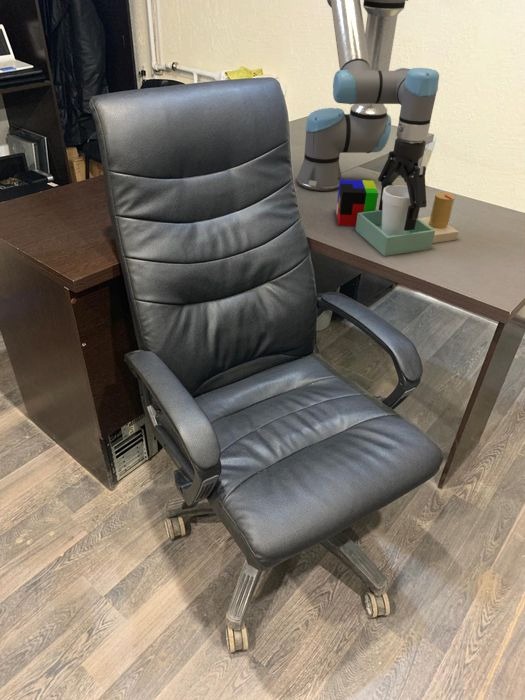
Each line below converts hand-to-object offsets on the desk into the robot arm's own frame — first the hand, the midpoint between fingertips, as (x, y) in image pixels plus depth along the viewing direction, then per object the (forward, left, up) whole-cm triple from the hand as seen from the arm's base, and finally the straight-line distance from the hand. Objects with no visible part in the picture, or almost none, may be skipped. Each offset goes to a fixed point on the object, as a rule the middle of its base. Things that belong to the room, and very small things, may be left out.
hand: (395, 219), depth 144 cm
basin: (0, 0, -6) cm, 6 cm away
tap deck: (0, +13, -6) cm, 15 cm away
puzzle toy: (-15, -4, -6) cm, 17 cm away
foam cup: (0, 0, -5) cm, 5 cm away
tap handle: (0, +14, -3) cm, 15 cm away
